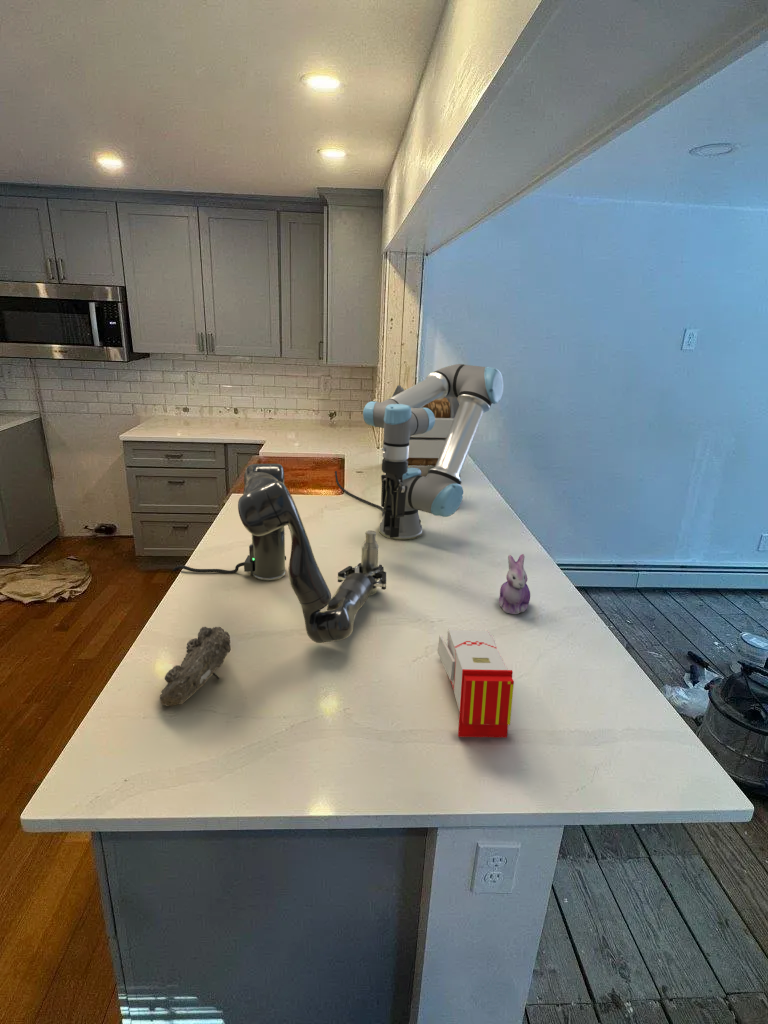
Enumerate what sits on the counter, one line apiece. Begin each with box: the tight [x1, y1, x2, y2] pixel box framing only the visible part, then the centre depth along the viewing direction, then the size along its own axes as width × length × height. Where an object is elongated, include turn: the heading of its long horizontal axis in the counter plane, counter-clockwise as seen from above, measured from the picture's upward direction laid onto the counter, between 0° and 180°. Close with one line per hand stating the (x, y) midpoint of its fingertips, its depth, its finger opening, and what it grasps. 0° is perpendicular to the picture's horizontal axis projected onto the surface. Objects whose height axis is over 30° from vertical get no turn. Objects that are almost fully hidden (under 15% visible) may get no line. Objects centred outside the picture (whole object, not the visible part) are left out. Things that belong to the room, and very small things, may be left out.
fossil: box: [159, 626, 232, 707], centre depth 118 cm, size 22×10×15 cm
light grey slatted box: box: [391, 384, 462, 478], centre depth 268 cm, size 34×33×41 cm
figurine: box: [498, 553, 531, 615], centre depth 151 cm, size 9×10×15 cm
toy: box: [437, 628, 515, 738], centre depth 117 cm, size 12×13×30 cm
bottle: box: [360, 530, 379, 596], centre depth 156 cm, size 4×4×18 cm
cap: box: [384, 526, 390, 536], centre depth 171 cm, size 4×4×2 cm
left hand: (372, 566), depth 159 cm, fingers closed on bottle, 4 cm apart
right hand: (390, 533), depth 171 cm, fingers closed on cap, 4 cm apart
